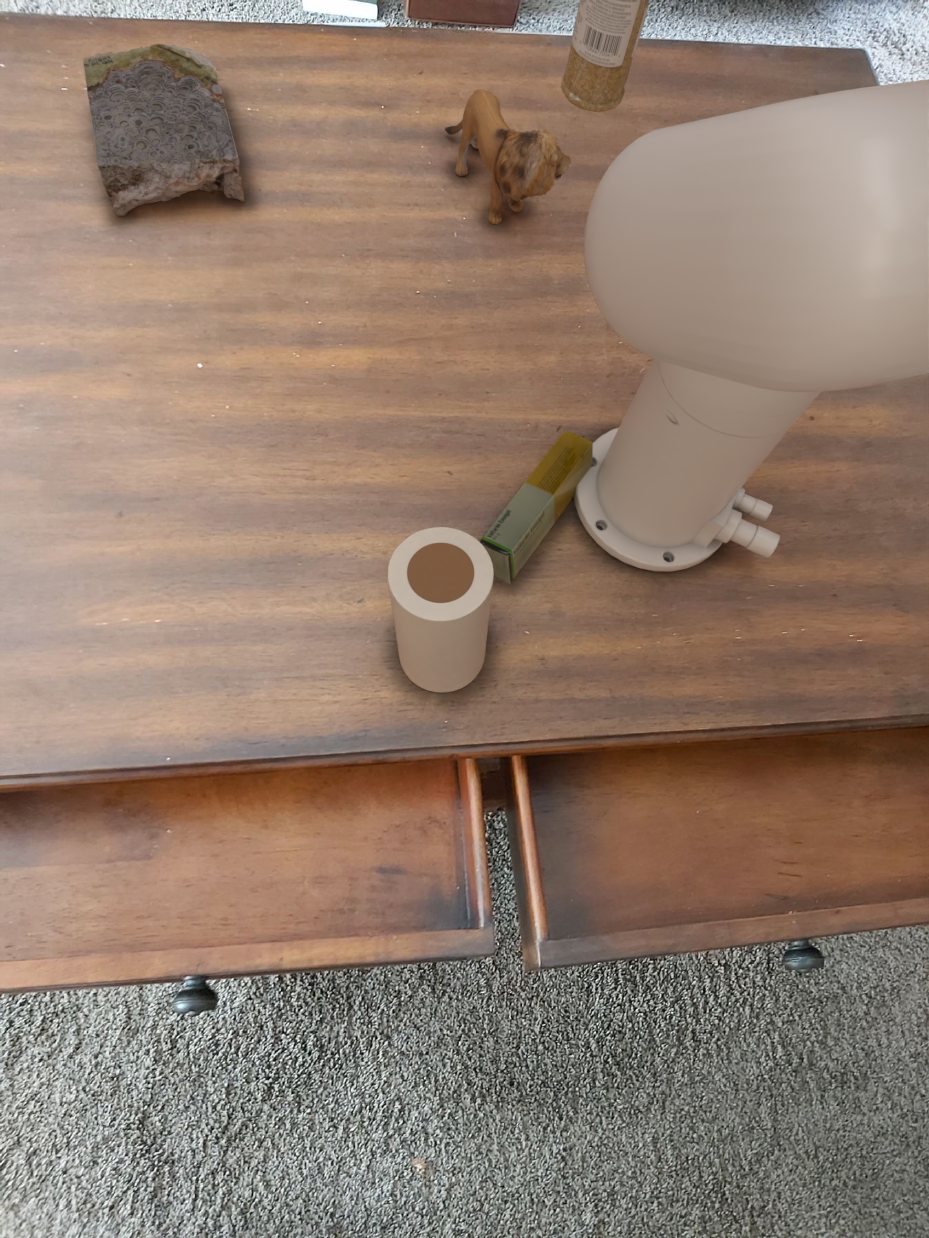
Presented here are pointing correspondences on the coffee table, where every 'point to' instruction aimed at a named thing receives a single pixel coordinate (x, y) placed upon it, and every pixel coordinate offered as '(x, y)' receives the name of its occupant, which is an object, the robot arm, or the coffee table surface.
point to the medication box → (537, 505)
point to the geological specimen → (160, 126)
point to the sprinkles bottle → (602, 52)
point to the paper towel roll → (441, 606)
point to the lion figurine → (508, 154)
